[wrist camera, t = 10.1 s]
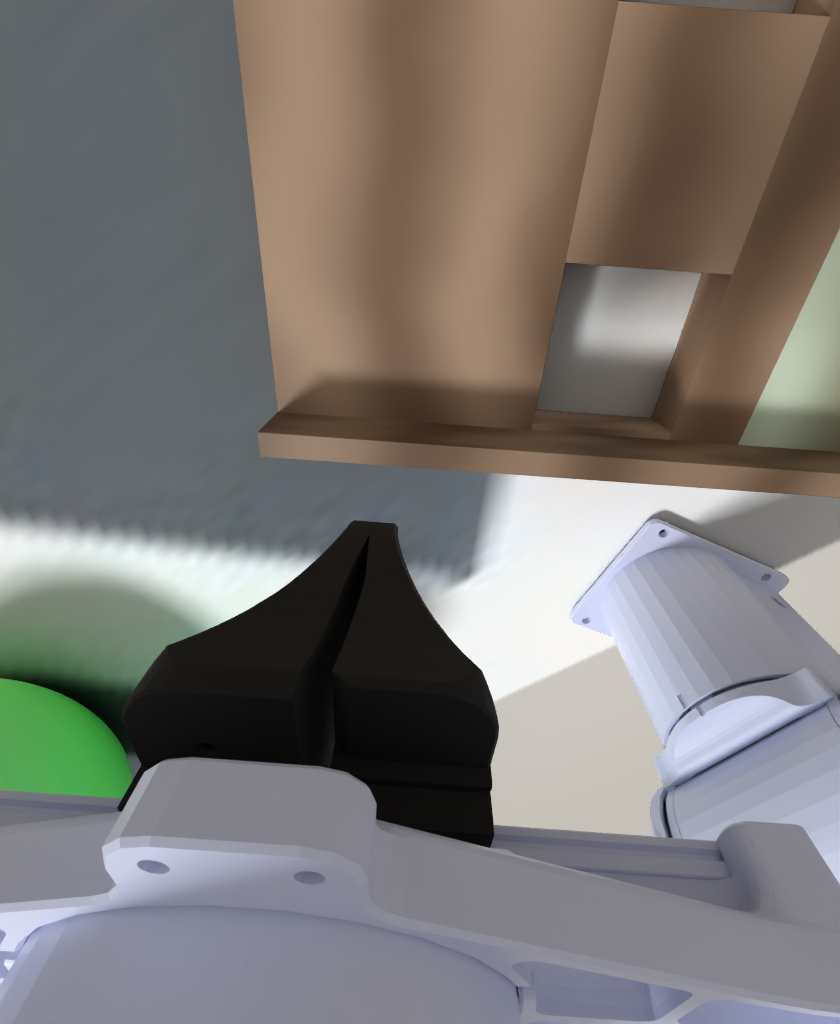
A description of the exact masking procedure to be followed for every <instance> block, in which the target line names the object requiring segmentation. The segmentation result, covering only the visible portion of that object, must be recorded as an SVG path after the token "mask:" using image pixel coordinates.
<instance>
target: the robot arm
mask: <svg viewBox="0 0 840 1024" xmlns="http://www.w3.org/2000/svg"><path fill="white" fill-rule="evenodd" d="M664 529H665V531H664V532H663V533H660V534H659V532H660V531H661V530H664ZM764 574H765V575H764ZM788 581H789V579H788V577H786V576H785V575H784V574H783V573H781V572H779V571H777V570H774V569H772V568H770V567H767V566H765V565H763V564H760V563H758V562H756V561H754V560H751V559H749V558H747V557H744V556H742V555H740V554H738V553H735V552H733V551H731V550H728V549H726V548H724V547H721V546H719V545H717V544H715V543H712V542H710V541H708V540H705V539H703V538H701V537H699V536H696V535H694V534H692V533H689V532H687V531H685V530H682V529H680V528H678V527H676V526H673V525H671V524H669V523H666V522H664V521H662V520H660V519H651V520H649V521H648V522H646V523H645V524H644V526H643V527H642V528H641V529H640V530H639V531H638V533H637V534H636V535H635V536H634V537H633V539H632V540H631V541H630V542H629V543H628V544H627V546H626V547H625V548H624V549H623V550H622V551H621V553H620V554H619V555H618V556H617V557H616V559H615V560H614V561H613V562H612V563H611V564H610V566H609V567H608V568H607V569H606V570H605V572H604V573H603V574H602V575H601V576H600V577H599V579H598V580H597V581H596V582H595V583H594V584H593V586H592V587H591V588H590V589H589V590H588V592H587V593H586V594H585V595H584V596H583V597H582V599H581V600H580V601H579V602H578V603H577V605H576V606H575V607H574V608H573V609H572V610H571V612H570V614H569V616H570V619H571V621H572V622H574V623H576V624H579V625H581V626H584V627H587V628H589V629H592V630H595V631H598V632H600V633H603V634H606V635H609V636H611V637H613V639H614V641H615V643H616V645H617V647H618V649H619V652H620V654H621V656H622V658H623V660H624V662H625V665H626V667H627V669H628V671H629V673H630V675H631V677H632V680H633V682H634V684H635V686H636V689H637V691H638V693H639V695H640V697H641V699H642V702H643V704H644V706H645V708H646V710H647V712H648V714H649V716H650V719H651V721H652V723H653V725H654V727H655V730H656V732H657V734H658V736H659V738H660V740H661V743H662V745H663V747H664V751H663V752H662V753H661V754H660V755H659V756H657V757H656V758H655V759H654V760H653V762H654V764H655V767H656V769H657V771H658V773H659V776H660V778H661V781H662V783H663V785H664V786H663V787H662V788H660V789H658V790H657V792H656V793H655V794H654V795H653V798H652V801H651V807H650V817H651V827H652V831H653V836H639V835H625V834H611V833H596V832H583V831H570V830H555V829H542V828H541V829H540V828H528V827H513V826H500V825H493V815H492V805H491V795H490V791H491V789H492V776H491V767H490V765H491V761H492V757H493V754H494V750H495V747H496V743H497V740H498V732H499V725H498V718H497V714H496V710H495V706H494V703H493V699H492V696H491V693H490V690H489V687H488V685H487V682H486V680H485V677H484V675H483V673H482V670H481V669H479V668H478V667H477V666H476V665H475V664H474V663H473V662H472V661H471V660H470V659H469V658H468V657H467V656H466V655H465V654H464V653H463V652H462V651H461V650H460V649H459V648H458V647H457V646H456V645H455V644H454V643H453V641H452V640H451V639H450V638H449V637H448V636H447V634H446V633H445V632H444V630H443V629H442V628H441V627H440V625H439V624H438V623H437V621H436V620H435V619H434V617H433V616H432V614H431V613H430V611H429V610H428V608H427V607H426V605H425V603H424V602H423V600H422V598H421V597H420V595H419V593H418V591H417V589H416V587H415V585H414V583H413V581H412V579H411V577H410V574H409V572H408V569H407V567H406V564H405V561H404V558H403V556H402V552H401V549H400V545H399V540H398V527H397V526H396V525H395V524H393V523H380V522H367V521H353V522H351V523H350V524H349V525H348V527H347V528H346V529H345V530H344V531H343V533H342V534H341V535H340V536H339V537H338V538H337V539H336V540H335V542H334V543H333V544H332V545H331V546H330V547H329V548H328V549H327V550H326V551H325V552H324V553H323V554H322V555H321V556H320V557H319V558H318V559H317V560H316V561H315V562H313V563H312V564H311V565H310V566H309V567H308V568H307V569H306V570H304V571H303V572H302V573H301V574H300V575H299V576H298V577H296V578H295V579H294V580H293V581H291V582H290V583H289V584H287V585H286V586H285V587H283V588H282V589H280V590H279V591H278V592H276V593H275V594H273V595H272V596H270V597H268V598H267V599H265V600H263V601H262V602H260V603H258V604H257V605H255V606H254V607H252V608H250V609H249V610H247V611H245V612H243V613H241V614H239V615H237V616H235V617H233V618H231V619H229V620H227V621H225V622H223V623H221V624H219V625H217V626H215V627H213V628H210V629H208V630H206V631H203V632H201V633H198V634H196V635H193V636H191V637H188V638H186V639H183V640H181V641H179V642H176V643H173V644H171V645H168V646H167V647H166V648H165V649H164V651H163V652H162V653H161V654H160V655H159V657H158V658H157V659H156V660H155V661H154V663H153V664H152V665H151V667H150V668H149V670H148V671H147V672H146V674H145V675H144V677H143V678H142V680H141V681H140V682H139V684H138V685H137V687H136V688H135V690H134V691H133V693H132V694H131V696H130V697H129V698H128V700H127V701H126V703H125V704H124V707H123V711H122V720H123V724H124V727H125V730H126V732H127V734H128V737H129V739H130V741H131V743H132V745H133V747H134V749H135V751H136V754H137V756H138V758H139V760H140V762H141V764H142V765H141V767H140V769H139V770H138V772H137V774H136V776H135V777H134V779H133V781H132V782H131V784H130V786H129V788H128V789H127V791H126V793H125V795H124V796H123V798H109V797H95V796H81V795H67V794H53V793H39V792H25V791H11V790H0V1024H840V655H839V654H838V653H837V652H836V651H835V650H834V649H833V648H832V647H831V646H830V645H829V644H828V643H827V642H826V641H825V640H824V639H823V638H822V637H821V636H820V635H819V634H818V633H817V632H816V631H815V630H814V629H813V628H812V627H811V626H810V625H809V624H808V623H807V622H806V621H805V620H804V619H803V618H802V617H801V616H800V615H799V614H798V613H797V612H796V611H795V610H794V609H793V608H792V607H791V606H790V605H789V604H788V603H787V602H786V601H785V600H784V599H783V598H782V597H781V596H780V595H779V594H778V592H779V591H781V590H782V589H783V588H784V587H785V586H786V585H787V584H788ZM586 617H587V618H586ZM584 618H586V619H584Z"/></svg>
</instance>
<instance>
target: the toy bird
mask: <svg viewBox="0 0 840 1024" xmlns="http://www.w3.org/2000/svg"><path fill="white" fill-rule="evenodd" d="M132 781H133V777H132V771H131V767H130V763H129V760H128V758H127V755H126V753H125V751H124V749H123V747H122V745H121V743H120V742H119V740H118V739H117V737H116V736H115V735H114V733H113V732H112V731H111V730H110V728H109V727H108V726H107V725H106V724H105V723H104V722H103V721H102V720H101V719H100V718H99V717H97V716H96V715H95V714H94V713H93V712H91V711H90V710H89V709H87V708H86V707H84V706H83V705H81V704H79V703H78V702H76V701H74V700H72V699H71V698H69V697H67V696H64V695H62V694H60V693H58V692H55V691H53V690H50V689H47V688H44V687H41V686H38V685H34V684H30V683H26V682H22V681H16V680H10V679H2V678H0V790H11V791H25V792H39V793H53V794H67V795H81V796H95V797H109V798H123V796H124V795H125V793H126V791H127V789H128V788H129V786H130V784H131V782H132Z"/></svg>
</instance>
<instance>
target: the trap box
mask: <svg viewBox="0 0 840 1024" xmlns="http://www.w3.org/2000/svg"><path fill="white" fill-rule="evenodd" d="M233 6H234V15H235V24H236V33H237V42H238V51H239V60H240V69H241V79H242V88H243V97H244V106H245V115H246V124H247V133H248V142H249V151H250V161H251V170H252V179H253V188H254V197H255V206H256V215H257V224H258V233H259V243H260V252H261V261H262V270H263V279H264V288H265V297H266V306H267V315H268V324H269V334H270V343H271V352H272V361H273V370H274V379H275V388H276V397H277V406H278V413H277V414H276V415H275V416H274V417H273V418H272V419H271V420H270V421H268V422H267V423H266V424H265V425H264V426H263V427H262V428H261V429H260V430H259V431H258V432H257V433H258V440H259V447H260V455H261V457H275V458H289V459H303V460H317V461H332V462H346V463H360V464H374V465H388V466H402V467H416V468H430V469H444V470H458V471H472V472H486V473H500V474H515V475H529V476H543V477H557V478H571V479H585V480H599V481H613V482H627V483H641V484H655V485H669V486H683V487H697V488H712V489H726V490H740V491H754V492H768V493H782V494H796V495H810V496H824V497H838V498H840V0H798V1H797V4H796V7H795V10H794V13H793V14H788V13H774V12H761V11H748V10H734V9H721V8H707V7H694V6H680V5H667V4H653V3H640V2H626V1H619V0H233ZM565 263H576V264H590V265H604V266H617V267H631V268H645V269H659V270H673V271H686V272H700V273H702V276H701V279H700V281H699V284H698V287H697V290H696V293H695V296H694V299H693V302H692V304H691V307H690V310H689V313H688V316H687V319H686V322H685V324H684V327H683V330H682V333H681V336H680V339H679V342H678V344H677V347H676V350H675V353H674V356H673V359H672V362H671V364H670V367H669V370H668V373H667V376H666V379H665V382H664V385H663V387H662V390H661V393H660V396H659V399H658V402H657V405H656V407H655V410H654V413H653V416H652V418H641V417H627V416H613V415H599V414H585V413H571V412H557V411H543V410H536V405H537V400H538V395H539V390H540V385H541V380H542V375H543V371H544V366H545V361H546V356H547V351H548V346H549V341H550V336H551V331H552V326H553V322H554V317H555V312H556V307H557V302H558V297H559V292H560V287H561V282H562V278H563V273H564V268H565Z"/></svg>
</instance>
